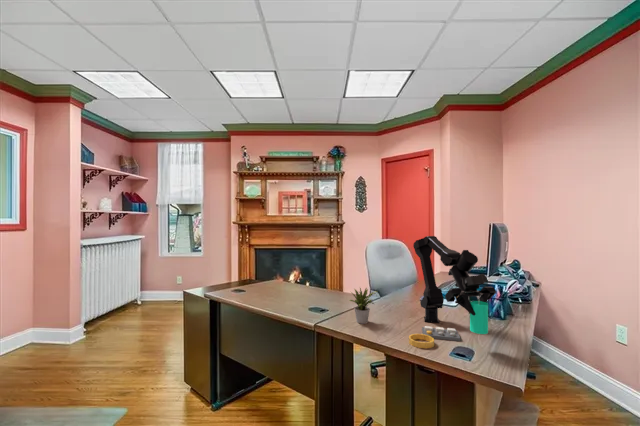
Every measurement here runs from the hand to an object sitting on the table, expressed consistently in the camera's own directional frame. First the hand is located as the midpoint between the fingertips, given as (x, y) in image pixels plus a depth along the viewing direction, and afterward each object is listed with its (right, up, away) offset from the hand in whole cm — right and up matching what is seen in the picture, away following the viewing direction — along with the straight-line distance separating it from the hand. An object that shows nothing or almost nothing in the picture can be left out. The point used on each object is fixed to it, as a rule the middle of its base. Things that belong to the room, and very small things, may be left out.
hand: (481, 314), depth 112 cm
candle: (0, -7, +1) cm, 7 cm away
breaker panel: (-9, -14, +15) cm, 22 cm away
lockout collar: (-20, -13, +7) cm, 25 cm away
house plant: (-39, -14, +31) cm, 52 cm away
